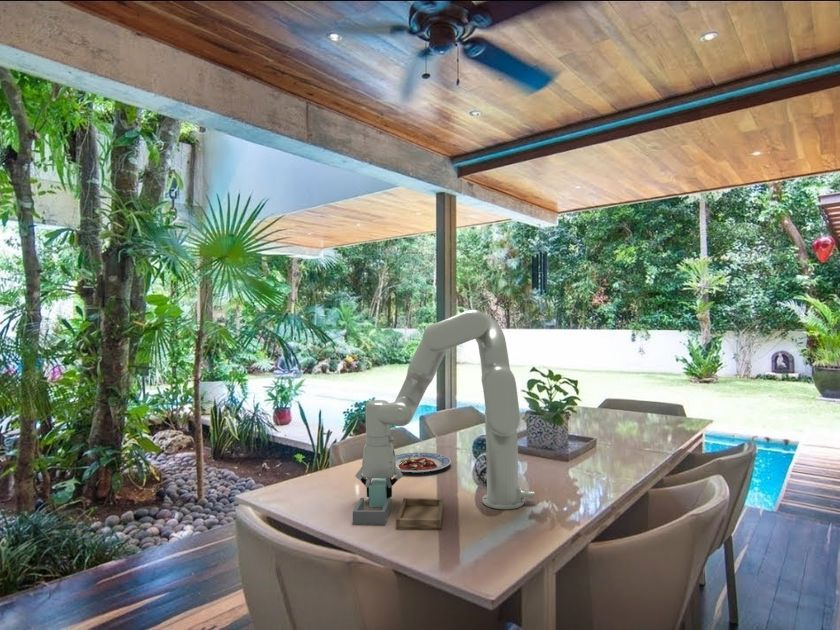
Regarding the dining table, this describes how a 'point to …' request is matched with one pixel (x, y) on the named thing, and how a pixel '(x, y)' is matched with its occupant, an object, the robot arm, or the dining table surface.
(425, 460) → the ceramic plate
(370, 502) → the mint green block
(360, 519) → the bay
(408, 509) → the tray
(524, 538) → the dining table surface
